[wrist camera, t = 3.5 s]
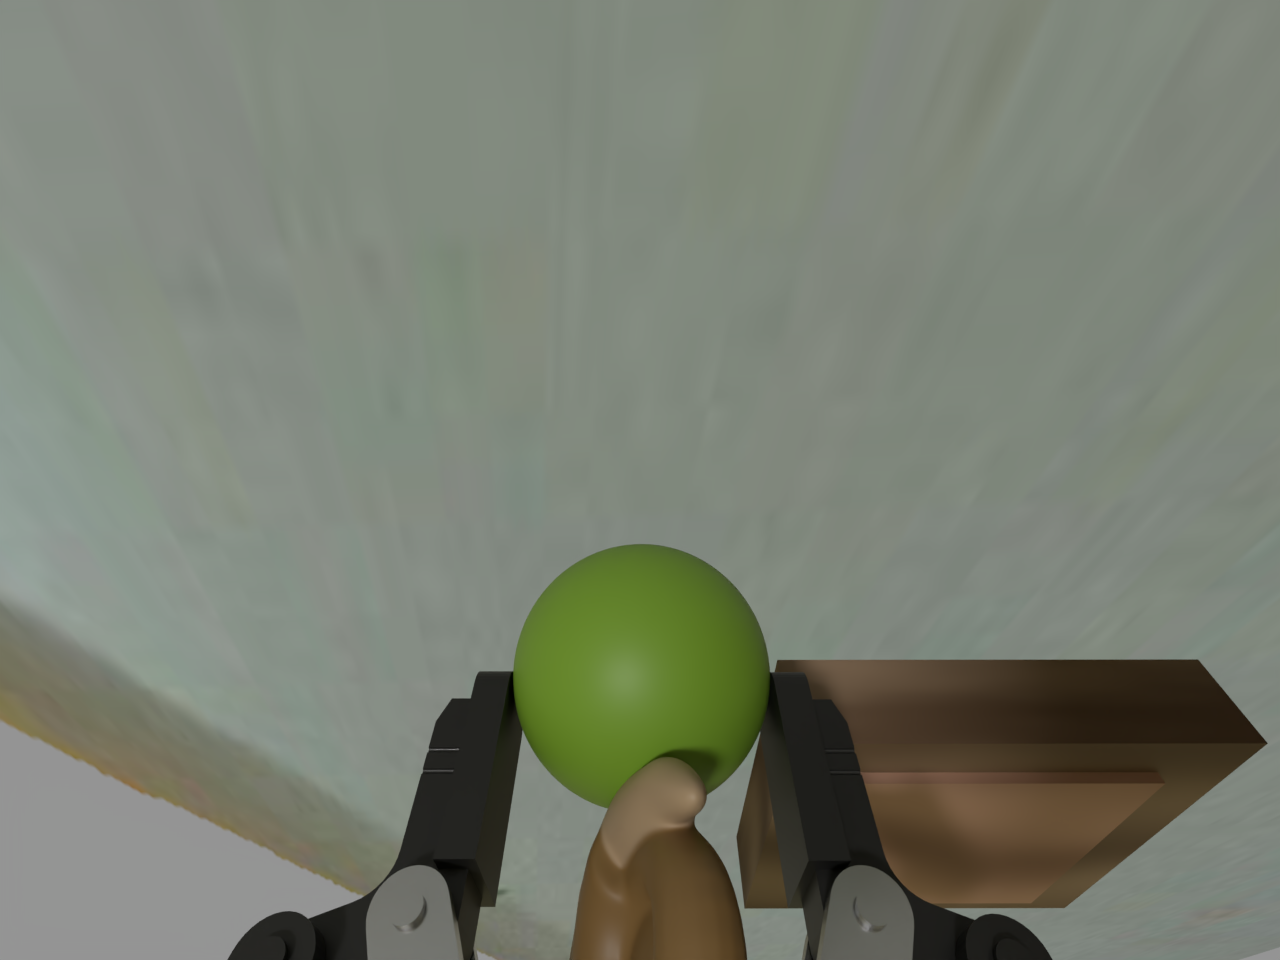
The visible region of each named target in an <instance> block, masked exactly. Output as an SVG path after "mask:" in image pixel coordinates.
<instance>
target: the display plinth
mask: <svg viewBox="0 0 1280 960" xmlns="http://www.w3.org/2000/svg"><path fill="white" fill-rule="evenodd" d="M775 672H804V673H805V675H806V677H807V679H808V683H809V687H810V691H811V695H812V699H831V700H832V701H833V703H834V704H835V706H836V707H837V708H838V710H839V711H840V713H841V714H842V716H843V717H844V718H845V720H846V721H847V723H848V726H849V730H850V734H851V737H852V741H853V744H854V748H855V749H854V751H855V754H856V755H857V759H858V762H859V766H860V769H861V770H860V772H861V775H862V776H863V780H864V784H865V787H866V791H867V794H868V798H869V801H870V805H871V808H872V812H873V816H874V819H875V823H876V826H877V830H878V833H879V837H880V841H881V844H882V848H883V851H884V854H885V857H886V860H887V862H888V864H889V866H890V868H891V869H892V871H893V873H894V874H895V876H896V877H897V878H898V879H899V880H900V882H901V883H902V884H903V885H904V886H905V887H906V888H907V889H908V890H910V891H911V892H912V893H913V894H915V895H916V896H918V897H919V898H921V899H923V900H924V901H927V902H929V903H931V904H934V905H936V906H939V907H942V908H1065V907H1067V906H1068V905H1069V904H1070V903H1072V902H1073V901H1074V900H1075V899H1077V898H1078V897H1079V896H1080V895H1081V894H1083V893H1084V892H1085V891H1086V890H1088V889H1089V888H1090V887H1091V886H1093V885H1094V884H1095V883H1096V882H1098V881H1099V880H1100V879H1101V878H1102V877H1104V876H1105V875H1106V874H1107V873H1109V872H1110V871H1111V870H1112V869H1114V868H1115V867H1116V866H1117V865H1118V864H1120V863H1121V862H1122V861H1123V860H1125V859H1126V858H1127V857H1128V856H1130V855H1131V854H1132V853H1133V852H1135V851H1136V850H1137V849H1138V848H1139V847H1141V846H1142V845H1143V844H1144V843H1146V842H1147V841H1148V840H1149V839H1151V838H1152V837H1153V836H1154V835H1156V834H1157V833H1158V832H1159V831H1160V830H1162V829H1163V828H1164V827H1165V826H1167V825H1168V824H1169V823H1170V822H1172V821H1173V820H1174V819H1175V818H1176V817H1178V816H1179V815H1180V814H1181V813H1183V812H1184V811H1185V810H1186V809H1188V808H1189V807H1190V806H1191V805H1193V804H1194V803H1195V802H1196V801H1197V800H1199V799H1200V798H1201V797H1202V796H1204V795H1205V794H1206V793H1207V792H1209V791H1210V790H1211V789H1212V788H1214V787H1215V786H1216V785H1217V784H1218V783H1220V782H1221V781H1222V780H1223V779H1225V778H1226V777H1227V776H1228V775H1230V774H1231V773H1232V772H1233V771H1235V770H1236V769H1237V768H1238V767H1239V766H1241V765H1242V764H1243V763H1244V762H1246V761H1247V760H1248V759H1249V758H1251V757H1252V756H1253V755H1254V754H1255V753H1257V752H1258V751H1259V750H1260V749H1262V748H1263V747H1264V746H1265V745H1267V744H1268V743H1267V742H1266V741H1265V739H1264V738H1263V737H1262V736H1261V735H1260V733H1259V732H1258V731H1257V730H1256V728H1255V727H1254V726H1253V725H1252V724H1251V722H1250V721H1249V720H1248V719H1247V718H1246V716H1245V715H1244V714H1243V713H1242V712H1241V710H1240V709H1239V708H1238V707H1237V706H1236V704H1235V703H1234V702H1233V701H1232V700H1231V698H1230V697H1229V696H1228V695H1227V694H1226V692H1225V691H1224V690H1223V689H1222V687H1221V686H1220V685H1219V684H1218V683H1217V681H1216V680H1215V679H1214V678H1213V677H1212V675H1211V674H1210V673H1209V672H1208V671H1207V669H1206V668H1205V667H1204V666H1203V665H1202V663H1201V662H1200V661H1199V660H1198V659H1140V660H777V663H776V668H775ZM736 838H737V847H738V856H739V865H740V874H741V882H742V891H743V900H744V909H789V908H788V905H787V899H786V893H785V887H784V880H783V874H782V868H781V861H780V855H779V849H778V843H777V836H776V830H775V824H774V818H773V811H772V805H771V799H770V793H769V786H768V780H767V774H766V768H765V761H764V755H763V749H762V742H761V735H760V737H759V741H758V745H757V750H756V754H755V758H754V763H753V767H752V771H751V776H750V780H749V784H748V788H747V793H746V797H745V801H744V806H743V810H742V814H741V819H740V823H739V827H738V832H737V836H736Z"/></svg>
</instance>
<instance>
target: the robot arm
mask: <svg viewBox="0 0 1280 960" xmlns="http://www.w3.org/2000/svg"><path fill="white" fill-rule="evenodd" d="M522 731H523V729H522V727H521V724H520V721H519V718H518V714H517V710H516V705H515V699H514V690H513V671H479V672H478V674H477V676H476V679H475V682H474V686H473V690H472V695H471V698H452V699H451V700H450V702H449V703H448V705H447V706H446V708H445V709H444V710H443V712H442V713H441V715H440V716H439V717H438V719H437V720H436V722H435V726H434V730H433V733H432V737H431V740H430V744H429V751H428V752H427V755H426V758H425V762H424V766H423V773H422V774H421V777H420V780H419V784H418V787H417V791H416V795H415V798H414V802H413V805H412V809H411V813H410V816H409V820H408V824H407V827H406V831H405V834H404V838H403V842H402V845H401V849H400V852H399V855H398V858H397V860H396V862H395V864H394V866H393V868H392V869H391V871H390V872H389V874H388V875H387V876H386V878H385V879H384V880H383V881H382V882H381V883H380V884H379V885H378V886H377V887H376V888H375V889H374V890H372V891H371V892H370V893H369V894H367V895H365V896H364V897H362V898H360V899H358V900H356V901H354V902H351V903H349V904H346V905H343V906H341V907H338V908H335V909H333V910H330V911H327V912H325V913H322V914H319V915H316V916H314V917H311V918H307V917H305V916H304V915H303V914H300V913H298V912H293V911H283V912H279V913H275V914H272V915H270V916H268V917H266V918H264V919H263V920H261V921H259V922H258V923H257V924H255V925H254V926H253V927H252V928H251V929H250V930H249V931H247V932H246V933H245V934H244V936H243V937H242V938H241V939H240V941H239V942H238V943H237V945H236V946H235V948H234V949H233V951H232V953H231V954H230V956H229V958H228V959H227V960H478V955H477V949H476V943H475V936H476V930H477V925H478V919H479V913H480V907H495V906H496V899H497V893H498V887H499V880H500V874H501V867H502V861H503V855H504V848H505V842H506V835H507V829H508V823H509V816H510V810H511V803H512V797H513V791H514V784H515V778H516V771H517V765H518V759H519V752H520V746H521V739H522ZM760 735H761V742H762V749H763V755H764V761H765V768H766V774H767V780H768V786H769V793H770V799H771V805H772V811H773V818H774V824H775V830H776V836H777V843H778V849H779V855H780V861H781V868H782V874H783V880H784V887H785V893H786V899H787V905H788V908H803V912H804V918H805V923H806V929H807V935H806V939H805V944H804V949H803V955H802V960H1053V959H1052V958H1051V956H1050V954H1049V953H1048V951H1047V950H1046V948H1045V947H1044V945H1043V944H1042V943H1041V941H1040V940H1039V939H1038V938H1037V937H1036V936H1035V935H1034V934H1033V933H1032V932H1031V931H1030V930H1029V929H1028V928H1027V927H1025V926H1024V925H1023V924H1021V923H1020V922H1018V921H1016V920H1015V919H1012V918H1010V917H1008V916H1004V915H1001V914H985V915H982V916H980V917H978V918H977V919H976V920H974V919H971V918H968V917H966V916H963V915H960V914H958V913H955V912H952V911H950V910H947V909H944V908H942V907H939V906H936V905H934V904H931V903H929V902H927V901H924V900H923V899H921V898H919V897H918V896H916V895H915V894H913V893H912V892H911V891H910V890H908V889H907V888H906V887H905V886H904V885H903V884H902V883H901V882H900V880H899V879H898V878H897V877H896V876H895V874H894V873H893V871H892V869H891V868H890V866H889V864H888V862H887V860H886V857H885V854H884V851H883V848H882V844H881V841H880V837H879V833H878V830H877V826H876V823H875V819H874V816H873V812H872V808H871V805H870V801H869V798H868V794H867V791H866V787H865V784H864V780H863V776H862V775H861V772H860V770H861V769H860V766H859V762H858V759H857V755H856V754H855V751H854V749H855V748H854V744H853V741H852V737H851V734H850V730H849V726H848V723H847V721H846V720H845V718H844V717H843V716H842V714H841V713H840V711H839V710H838V708H837V707H836V706H835V704H834V703H833V701H832V700H831V699H812V695H811V691H810V687H809V683H808V679H807V677H806V675H805V673H804V672H770V693H769V700H768V706H767V711H766V715H765V718H764V722H763V725H762V727H761V730H760Z"/></svg>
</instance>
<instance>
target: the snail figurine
mask: <svg viewBox="0 0 1280 960" xmlns="http://www.w3.org/2000/svg"><path fill="white" fill-rule="evenodd" d="M513 690H514V699H515V705H516V710H517V714H518V718H519V721H520V724H521V727H522V729H523V732H524V734H525V737H526V739H527V741H528V743H529V745H530V747H531V748H532V750H533V752H534V753H535V755H536V756H537V758H538V759H539V761H540V762H541V763H542V765H543V766H544V767H545V768H546V769H547V771H548V772H549V773H550V774H551V775H552V776H553V777H554V778H555V779H556V780H557V781H558V782H560V783H561V784H562V785H563V786H564V787H566V788H567V789H568V790H570V791H571V792H573V793H574V794H576V795H577V796H579V797H581V798H583V799H585V800H586V801H588V802H591V803H593V804H595V805H598V806H601V807H604V808H607V809H608V810H607V812H606V814H605V817H604V819H603V821H602V824H601V826H600V829H599V831H598V833H597V836H596V838H595V840H594V842H593V844H592V847H591V849H590V852H589V855H588V859H587V863H586V867H585V872H584V876H583V880H582V884H581V888H580V892H579V898H578V905H577V913H576V922H575V929H574V935H573V941H572V946H571V952H570V958H569V960H747V950H746V943H745V937H744V930H743V924H742V919H741V914H740V910H739V906H738V902H737V898H736V894H735V891H734V888H733V885H732V882H731V880H730V877H729V874H728V872H727V870H726V867H725V865H724V864H723V862H722V860H721V858H720V857H719V855H718V854H717V852H716V851H715V849H714V848H713V847H712V845H711V844H710V843H709V842H708V841H707V840H706V839H705V838H704V837H703V836H702V835H701V833H700V832H699V831H698V830H697V829H696V827H695V816H696V815H697V814H698V813H699V812H700V811H701V810H702V809H703V807H704V806H705V803H706V800H707V795H708V794H709V793H711V792H712V791H714V790H715V789H716V788H718V787H719V786H720V785H721V784H723V783H724V782H725V781H726V780H727V779H728V778H729V777H730V776H731V775H732V774H733V773H734V772H735V771H736V770H737V769H738V767H739V766H740V765H741V764H742V762H743V761H744V760H745V758H746V757H747V755H748V754H749V752H750V750H751V749H752V747H753V745H754V743H755V741H756V739H757V737H758V735H759V733H760V730H761V727H762V725H763V722H764V718H765V715H766V711H767V706H768V700H769V693H770V666H769V657H768V652H767V647H766V643H765V640H764V636H763V633H762V630H761V628H760V625H759V623H758V621H757V618H756V616H755V614H754V613H753V611H752V609H751V607H750V606H749V604H748V603H747V601H746V600H745V598H744V597H743V595H742V594H741V593H740V592H739V590H738V589H737V588H736V587H735V586H734V585H733V584H732V583H731V582H730V581H729V580H728V579H727V578H726V577H725V576H724V575H723V574H722V573H721V572H719V571H718V570H717V569H715V568H714V567H713V566H711V565H710V564H708V563H706V562H705V561H703V560H701V559H699V558H698V557H695V556H693V555H691V554H689V553H686V552H684V551H681V550H678V549H674V548H671V547H666V546H660V545H652V544H630V545H623V546H617V547H612V548H609V549H605V550H602V551H599V552H597V553H594V554H592V555H590V556H588V557H586V558H584V559H582V560H580V561H578V562H577V563H575V564H573V565H572V566H570V567H569V568H568V569H566V570H565V571H564V572H562V573H561V574H560V575H559V576H558V577H557V578H556V579H555V580H554V581H553V582H552V583H551V584H550V585H549V586H548V587H547V588H546V589H545V590H544V592H543V593H542V594H541V596H540V597H539V598H538V600H537V601H536V603H535V604H534V606H533V607H532V609H531V611H530V613H529V615H528V617H527V619H526V621H525V623H524V626H523V628H522V631H521V634H520V636H519V640H518V644H517V648H516V653H515V659H514V667H513Z"/></svg>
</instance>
